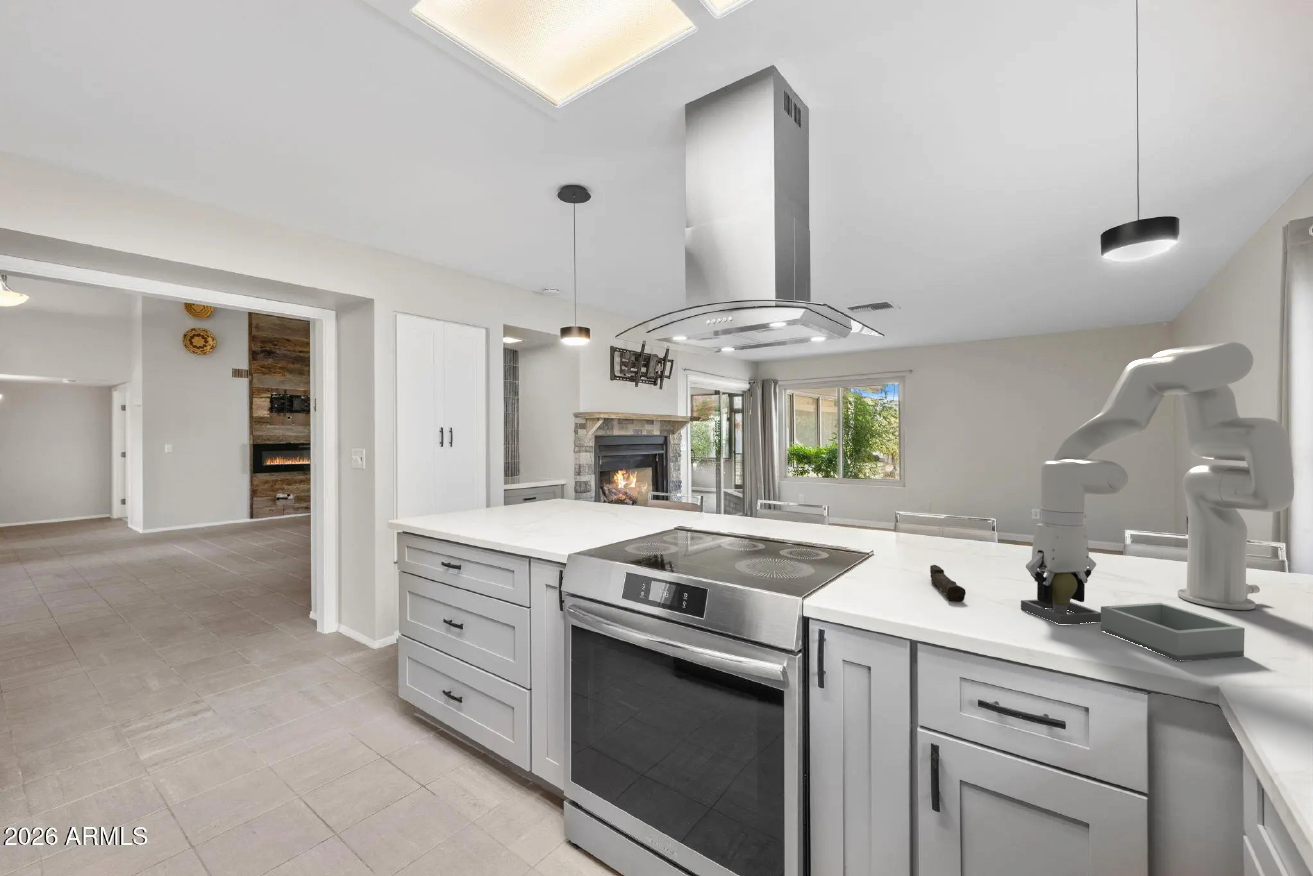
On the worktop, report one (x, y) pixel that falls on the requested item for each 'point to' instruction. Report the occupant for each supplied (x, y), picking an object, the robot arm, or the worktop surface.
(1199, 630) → the bin
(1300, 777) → the worktop surface
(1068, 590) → the light bulb
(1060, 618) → the bulb holder
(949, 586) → the hand tool
